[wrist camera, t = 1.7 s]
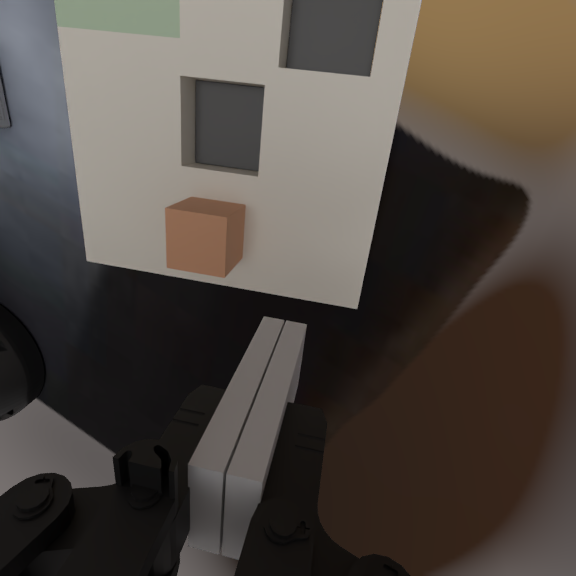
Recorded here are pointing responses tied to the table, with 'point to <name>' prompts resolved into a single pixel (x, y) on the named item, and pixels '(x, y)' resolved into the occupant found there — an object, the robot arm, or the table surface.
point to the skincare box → (3, 110)
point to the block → (204, 236)
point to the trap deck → (237, 129)
